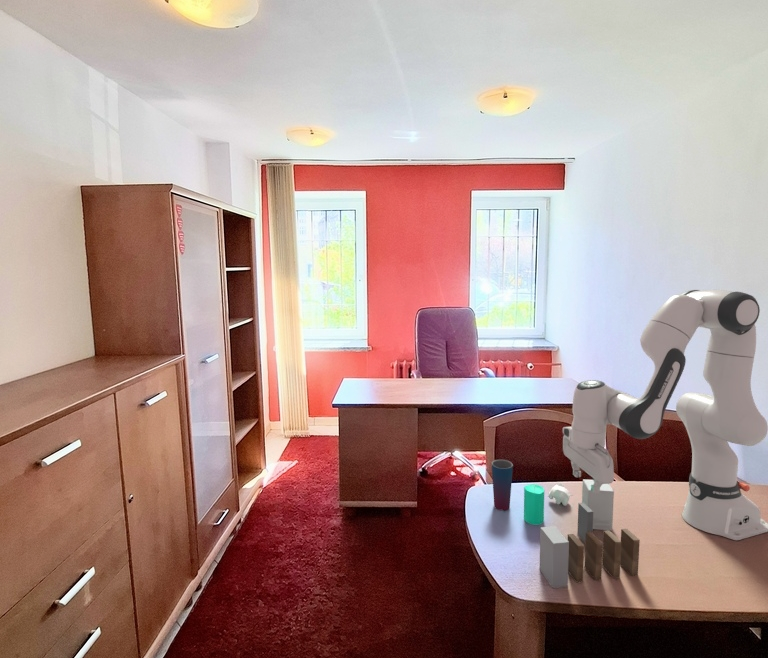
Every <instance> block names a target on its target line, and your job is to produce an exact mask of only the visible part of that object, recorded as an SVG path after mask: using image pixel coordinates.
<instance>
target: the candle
mask: <svg viewBox="0 0 768 658" xmlns="http://www.w3.org/2000/svg"><path fill="white" fill-rule="evenodd" d="M523 491H524V492H523V519H524V521H525V522H526V523H528V524H530V525H534V526H535V525H538V526H539V525H542V524H544V521H545V489H544V487H543V486H541V485H539V484H535V483H533V484H527V485H524V488H523Z"/></svg>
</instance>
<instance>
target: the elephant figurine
mask: <svg viewBox="0 0 768 658" xmlns="http://www.w3.org/2000/svg"><path fill="white" fill-rule="evenodd" d="M572 496H573V494H572V495H571V494H570V491H569V490H568V489H567V488H566V487H565V486H564V484H563V483H561V482H558V483H556V484H555V485H554V486H553V487H551V489H550V490H549V492H548V496H547V497H548V498H549V499H550V500H555V503H556V505H561V504H562V505H563V506H565V507H566V506H567V505H568V504H569V501H570V498H571V497H572Z"/></svg>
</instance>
